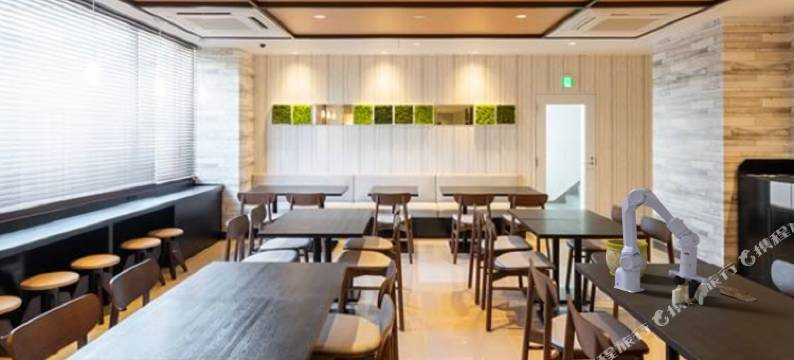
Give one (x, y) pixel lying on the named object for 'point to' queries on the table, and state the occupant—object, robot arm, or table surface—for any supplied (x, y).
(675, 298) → the wall frame
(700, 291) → the door
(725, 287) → the wooden fragment
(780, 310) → the table surface
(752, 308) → the table surface
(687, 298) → the block
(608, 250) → the flowerpot
